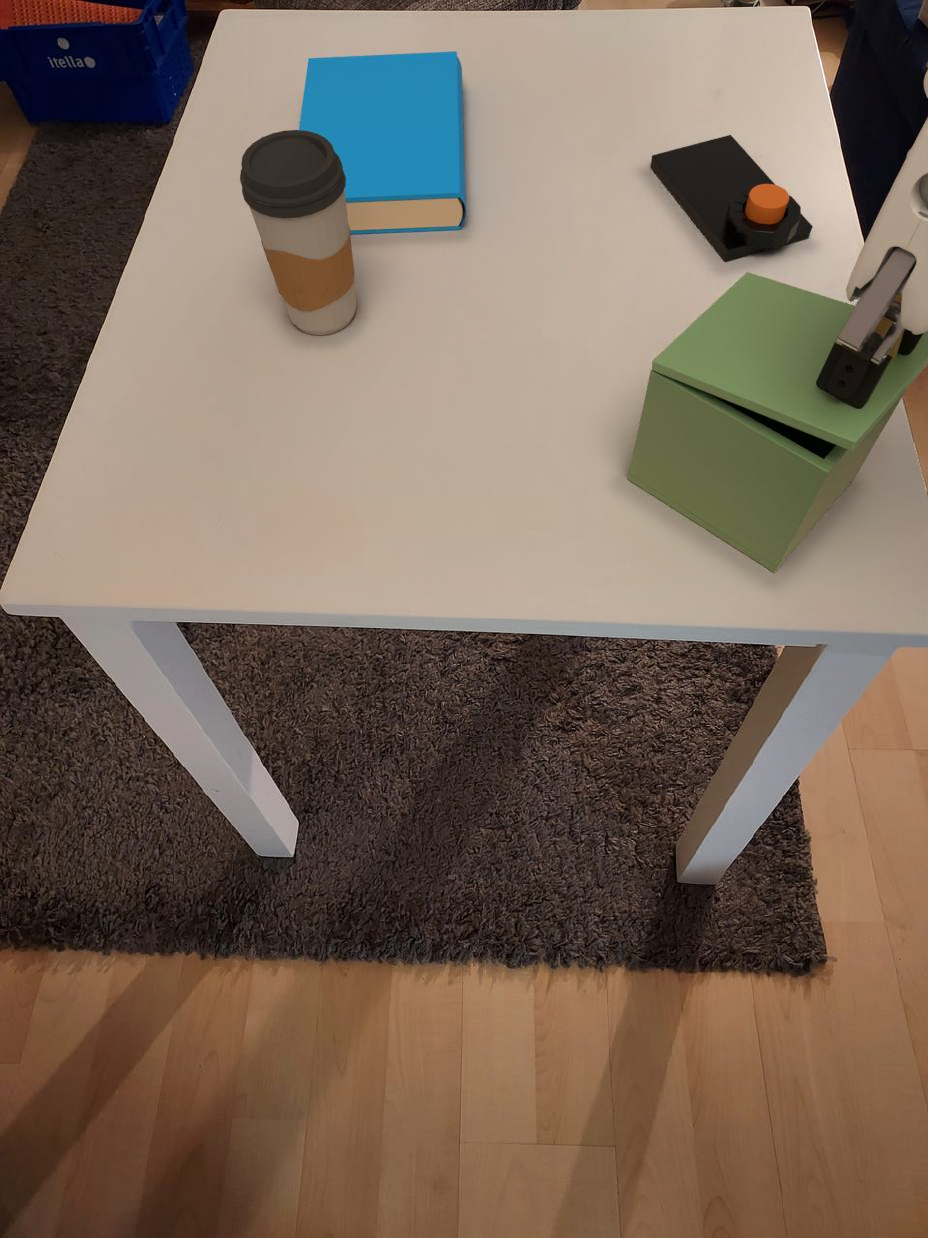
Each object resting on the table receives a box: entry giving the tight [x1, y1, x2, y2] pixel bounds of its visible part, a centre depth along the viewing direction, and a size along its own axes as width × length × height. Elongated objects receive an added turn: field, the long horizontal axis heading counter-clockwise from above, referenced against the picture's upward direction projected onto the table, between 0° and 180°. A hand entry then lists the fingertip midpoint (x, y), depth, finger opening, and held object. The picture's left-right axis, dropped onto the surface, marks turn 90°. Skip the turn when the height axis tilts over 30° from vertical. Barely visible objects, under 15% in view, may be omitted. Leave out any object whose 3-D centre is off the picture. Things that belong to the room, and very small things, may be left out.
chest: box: [627, 369, 908, 573], centre depth 62 cm, size 14×12×12 cm
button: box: [745, 184, 790, 224], centre depth 78 cm, size 4×4×2 cm
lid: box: [651, 271, 928, 451], centre depth 53 cm, size 14×12×6 cm
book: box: [298, 50, 467, 235], centre depth 88 cm, size 17×4×25 cm
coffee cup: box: [239, 129, 357, 336], centre depth 72 cm, size 8×8×15 cm
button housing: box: [649, 134, 814, 263], centre depth 82 cm, size 17×9×3 cm, turn 20°
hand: (865, 366), depth 52 cm, fingers closed on lid, 5 cm apart
